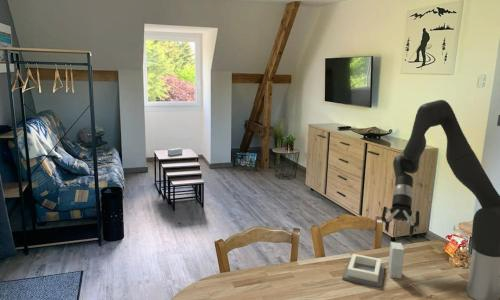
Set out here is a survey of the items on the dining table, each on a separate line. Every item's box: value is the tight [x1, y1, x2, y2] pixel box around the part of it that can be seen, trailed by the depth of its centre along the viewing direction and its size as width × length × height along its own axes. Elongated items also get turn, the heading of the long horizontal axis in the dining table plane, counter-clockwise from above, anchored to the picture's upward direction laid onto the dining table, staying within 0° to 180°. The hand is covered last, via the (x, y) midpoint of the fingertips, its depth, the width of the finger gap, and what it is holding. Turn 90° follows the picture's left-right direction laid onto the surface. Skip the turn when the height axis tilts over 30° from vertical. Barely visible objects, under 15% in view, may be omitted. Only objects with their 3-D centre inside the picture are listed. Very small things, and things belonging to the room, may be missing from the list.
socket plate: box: [341, 253, 386, 288], centre depth 149 cm, size 14×16×4 cm
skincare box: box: [387, 241, 405, 279], centre depth 148 cm, size 6×4×12 cm
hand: (398, 233), depth 153 cm, fingers open, 8 cm apart
